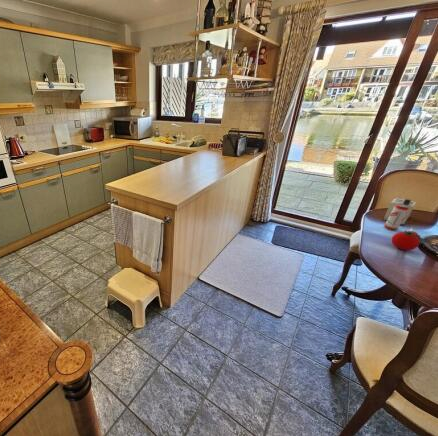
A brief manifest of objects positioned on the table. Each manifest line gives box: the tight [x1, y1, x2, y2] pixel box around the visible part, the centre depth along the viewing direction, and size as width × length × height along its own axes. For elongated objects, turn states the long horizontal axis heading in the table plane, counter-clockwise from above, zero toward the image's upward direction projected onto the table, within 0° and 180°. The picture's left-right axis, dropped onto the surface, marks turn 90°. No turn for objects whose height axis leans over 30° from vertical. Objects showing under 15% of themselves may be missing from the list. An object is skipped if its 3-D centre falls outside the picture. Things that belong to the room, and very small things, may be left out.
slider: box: [403, 198, 412, 205], centre depth 154 cm, size 2×2×3 cm
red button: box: [407, 230, 419, 236], centre depth 138 cm, size 4×4×2 cm
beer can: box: [384, 204, 408, 231], centre depth 149 cm, size 6×6×16 cm
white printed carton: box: [382, 197, 417, 226], centre depth 161 cm, size 10×12×13 cm
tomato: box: [391, 229, 419, 251], centre depth 131 cm, size 10×10×10 cm
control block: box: [417, 234, 424, 247], centre depth 139 cm, size 10×8×4 cm
